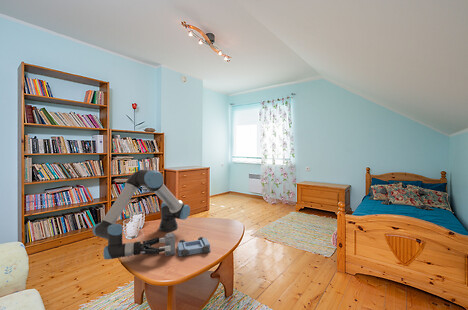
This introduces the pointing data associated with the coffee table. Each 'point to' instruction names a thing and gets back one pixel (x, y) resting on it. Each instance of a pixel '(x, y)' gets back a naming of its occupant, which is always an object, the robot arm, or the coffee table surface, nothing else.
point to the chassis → (193, 247)
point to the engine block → (170, 243)
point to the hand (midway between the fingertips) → (170, 243)
